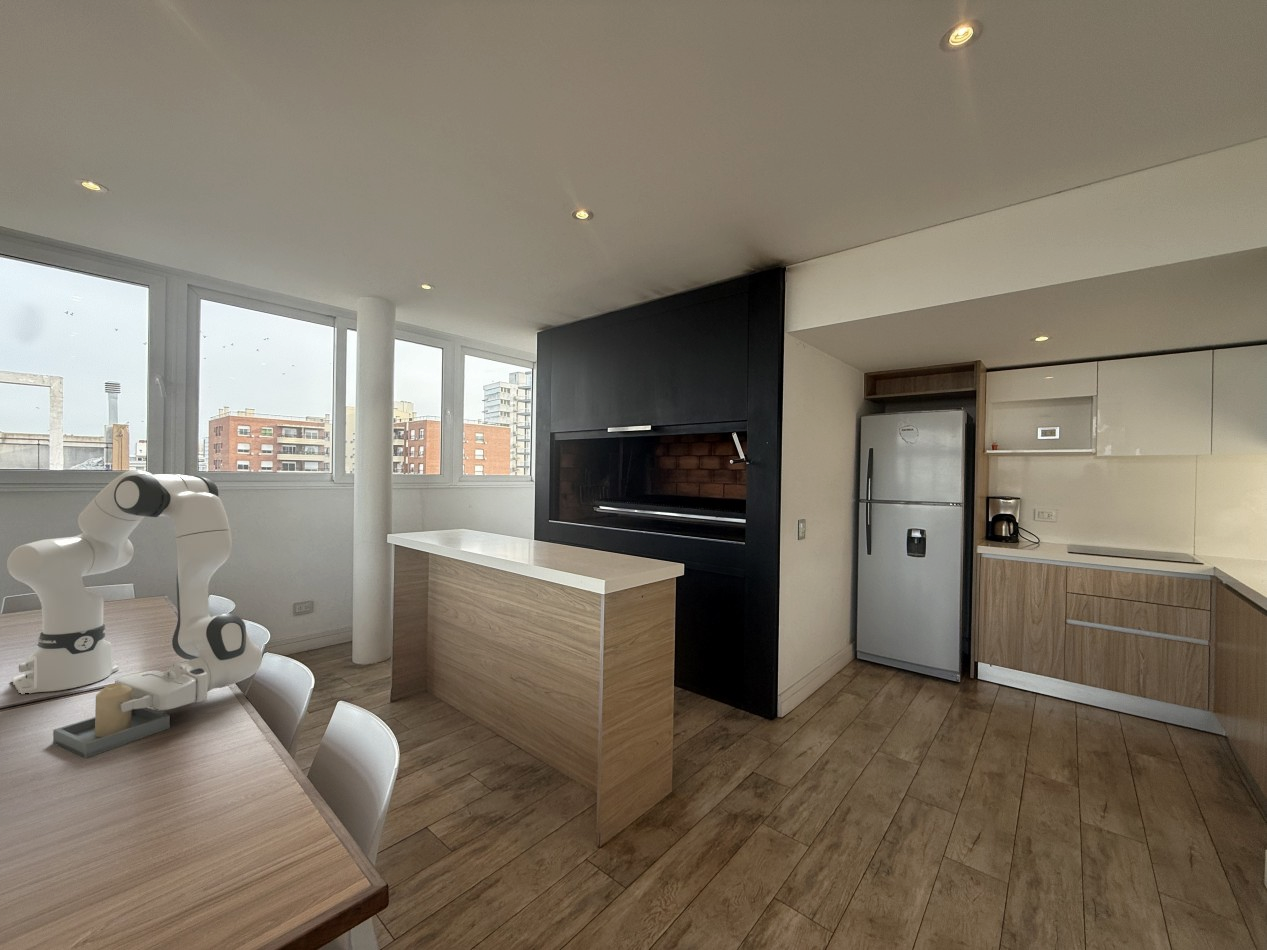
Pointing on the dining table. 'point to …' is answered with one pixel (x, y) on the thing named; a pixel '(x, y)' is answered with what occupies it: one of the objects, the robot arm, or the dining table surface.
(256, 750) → the dining table surface
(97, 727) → the candle
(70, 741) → the serving tray
